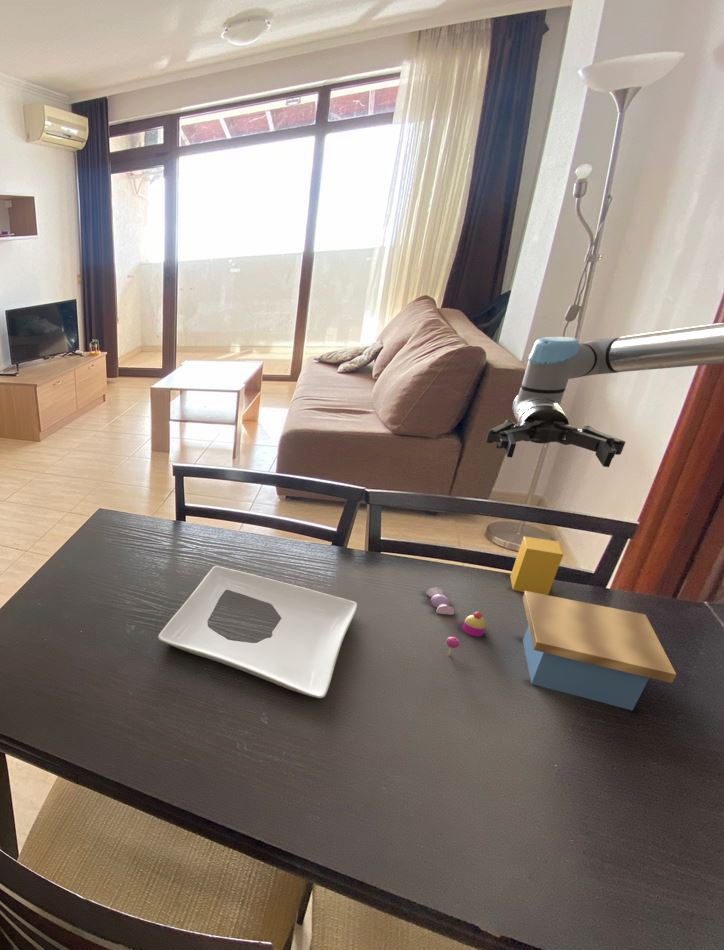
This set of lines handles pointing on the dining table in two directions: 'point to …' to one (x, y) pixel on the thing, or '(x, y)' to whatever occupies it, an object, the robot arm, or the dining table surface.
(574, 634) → the birch board
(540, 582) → the yellow block
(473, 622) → the candy
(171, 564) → the dining table surface
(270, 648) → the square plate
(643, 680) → the blue box
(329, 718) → the dining table surface
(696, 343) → the robot arm
